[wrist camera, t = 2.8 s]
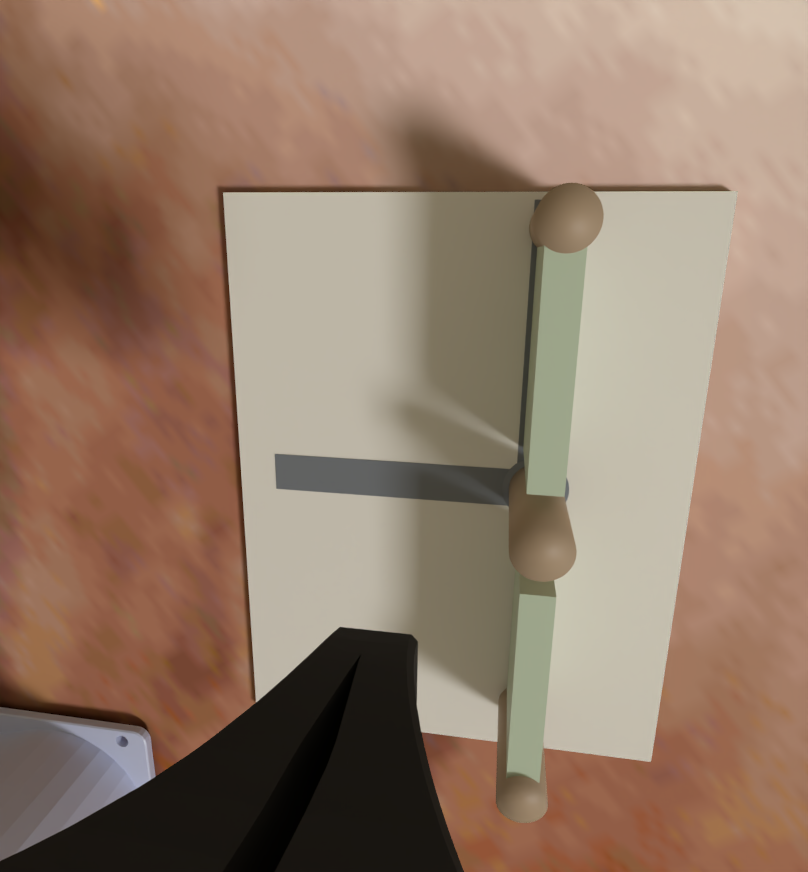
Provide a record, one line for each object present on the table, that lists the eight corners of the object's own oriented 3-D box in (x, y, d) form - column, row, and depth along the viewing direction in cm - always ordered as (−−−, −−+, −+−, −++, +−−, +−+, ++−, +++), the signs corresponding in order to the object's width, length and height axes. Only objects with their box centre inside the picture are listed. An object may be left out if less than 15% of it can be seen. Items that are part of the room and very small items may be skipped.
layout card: (259, 704, 23) (256, 711, 23) (227, 193, 18) (222, 192, 18) (649, 755, 21) (651, 762, 21) (733, 192, 16) (738, 191, 16)
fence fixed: (507, 512, 19) (506, 578, 15) (527, 199, 17) (532, 181, 13) (560, 515, 19) (573, 584, 15) (588, 199, 17) (613, 181, 13)
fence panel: (497, 718, 21) (494, 818, 17) (509, 529, 19) (509, 597, 15) (539, 723, 21) (545, 826, 17) (555, 533, 19) (567, 602, 15)
